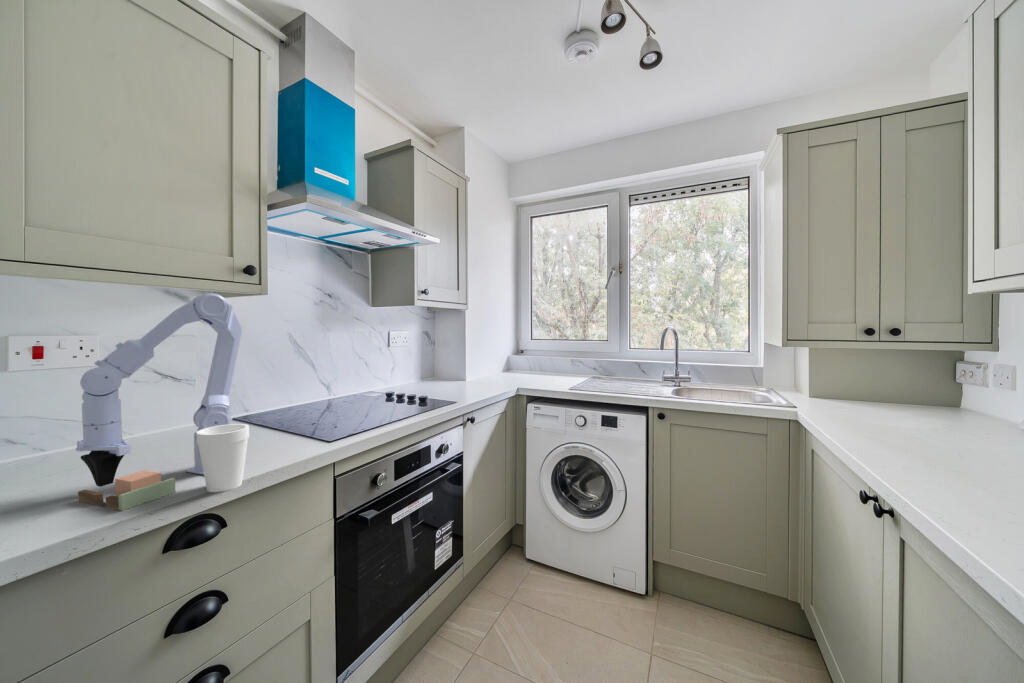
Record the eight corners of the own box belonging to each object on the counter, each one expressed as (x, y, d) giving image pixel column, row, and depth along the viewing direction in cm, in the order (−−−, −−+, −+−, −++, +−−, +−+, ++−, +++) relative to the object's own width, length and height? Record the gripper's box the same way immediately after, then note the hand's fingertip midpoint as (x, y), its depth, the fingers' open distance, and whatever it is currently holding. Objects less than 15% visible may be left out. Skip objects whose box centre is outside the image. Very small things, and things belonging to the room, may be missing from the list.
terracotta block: (145, 492, 82) (145, 470, 82) (161, 496, 81) (160, 472, 80) (115, 502, 77) (115, 478, 77) (131, 506, 76) (131, 481, 76)
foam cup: (259, 478, 90) (258, 423, 90) (231, 495, 81) (230, 434, 80) (218, 478, 90) (217, 424, 89) (186, 495, 80) (184, 434, 80)
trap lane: (133, 484, 86) (133, 471, 86) (175, 492, 82) (175, 478, 82) (78, 501, 78) (78, 486, 78) (122, 510, 74) (121, 495, 74)
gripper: (56, 424, 80) (58, 487, 81) (98, 429, 76) (101, 496, 76) (100, 417, 87) (102, 475, 88) (141, 421, 83) (144, 483, 83)
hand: (104, 484), depth 82 cm, fingers closed
